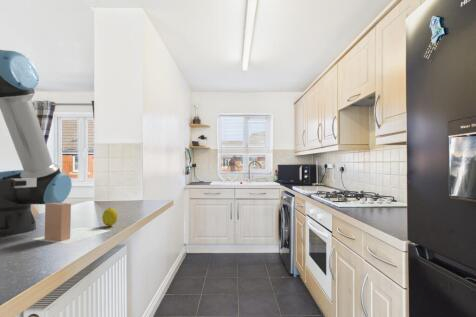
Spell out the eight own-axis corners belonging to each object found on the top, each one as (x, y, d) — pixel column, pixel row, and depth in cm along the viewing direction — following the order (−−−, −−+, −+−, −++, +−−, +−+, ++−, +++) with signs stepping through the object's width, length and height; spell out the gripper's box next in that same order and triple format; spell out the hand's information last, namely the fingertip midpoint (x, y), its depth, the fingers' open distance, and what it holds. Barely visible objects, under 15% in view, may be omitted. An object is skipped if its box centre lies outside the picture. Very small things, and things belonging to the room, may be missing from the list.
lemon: (113, 228, 101) (113, 208, 101) (99, 228, 101) (99, 208, 101) (119, 225, 106) (120, 206, 107) (106, 225, 107) (107, 206, 107)
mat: (31, 239, 86) (31, 239, 86) (80, 227, 102) (80, 227, 102) (65, 245, 80) (65, 244, 80) (111, 231, 97) (111, 230, 97)
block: (44, 239, 86) (45, 203, 86) (54, 236, 89) (55, 202, 89) (61, 241, 83) (61, 204, 83) (71, 238, 86) (71, 203, 86)
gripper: (-95, 203, 59) (20, 193, 81) (-65, 206, 55) (48, 195, 77) (-94, 171, 60) (21, 170, 82) (-64, 172, 55) (49, 170, 77)
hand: (34, 182), depth 79 cm, fingers closed
